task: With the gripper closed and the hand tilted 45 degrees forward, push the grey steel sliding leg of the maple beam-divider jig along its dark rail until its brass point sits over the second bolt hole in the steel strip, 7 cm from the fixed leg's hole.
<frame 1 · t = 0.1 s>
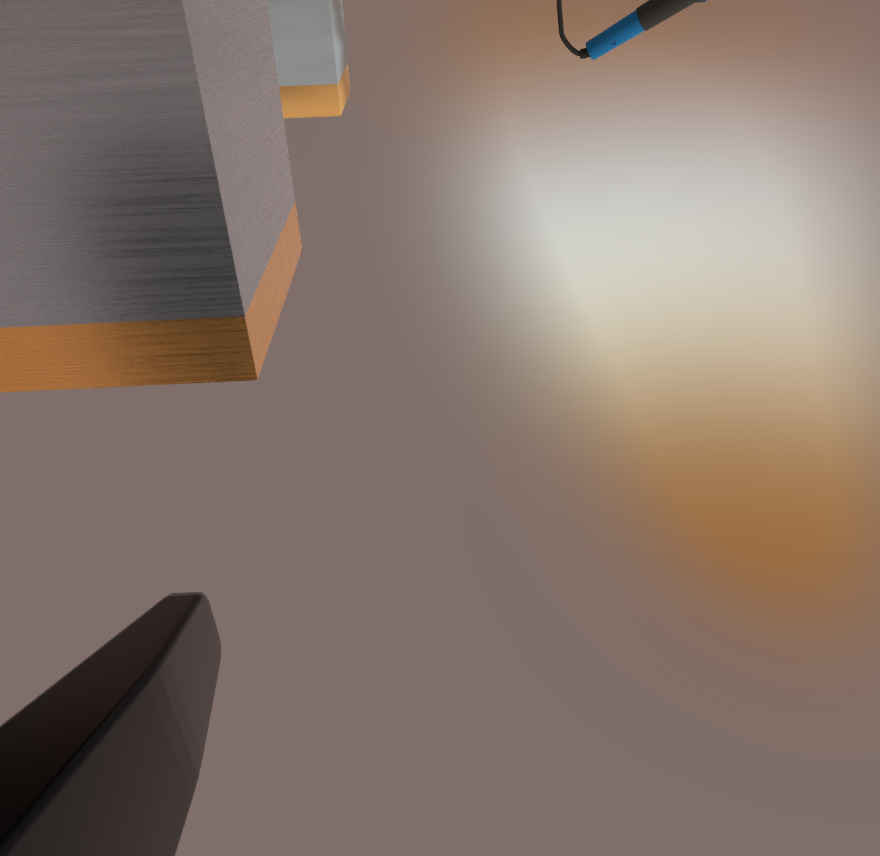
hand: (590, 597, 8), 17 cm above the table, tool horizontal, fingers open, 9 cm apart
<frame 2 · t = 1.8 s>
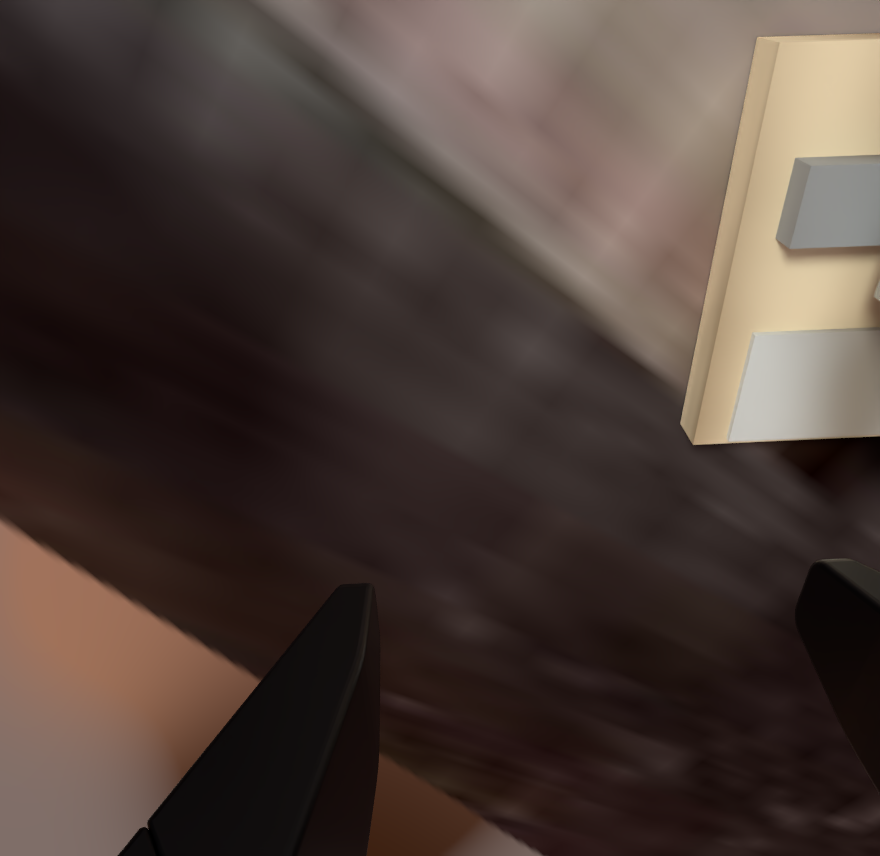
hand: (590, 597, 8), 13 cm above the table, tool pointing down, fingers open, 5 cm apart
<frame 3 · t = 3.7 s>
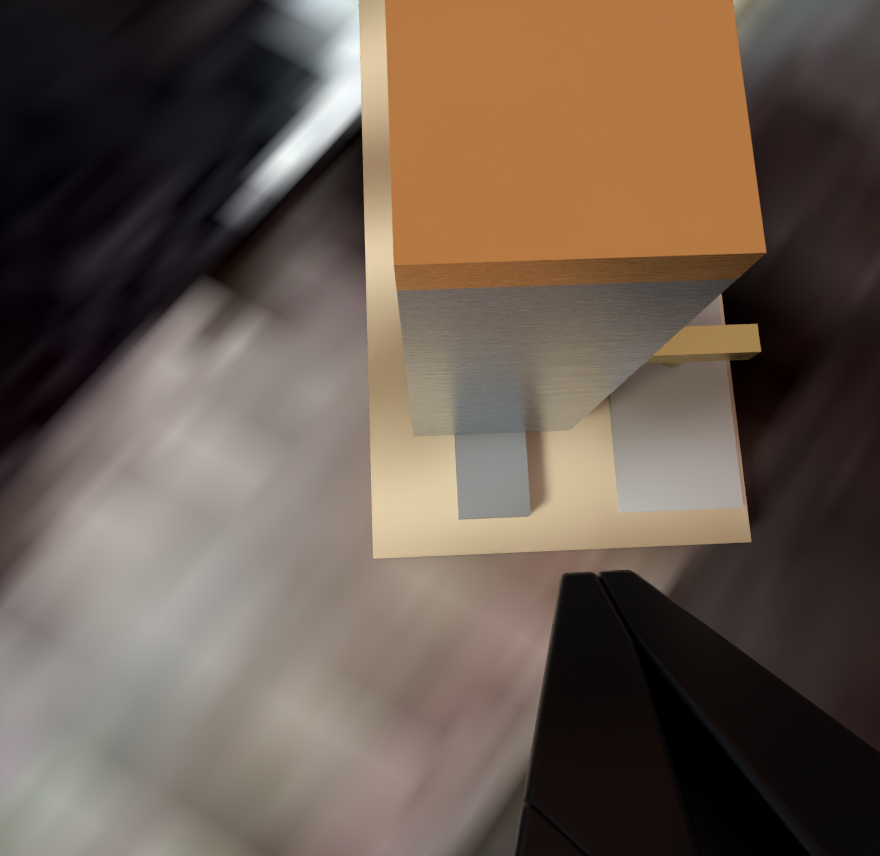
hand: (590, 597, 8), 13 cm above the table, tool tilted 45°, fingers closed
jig: (531, 202, 24), on the table
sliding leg: (633, 278, 15), point 8 cm above the table, slide at 0.0 cm
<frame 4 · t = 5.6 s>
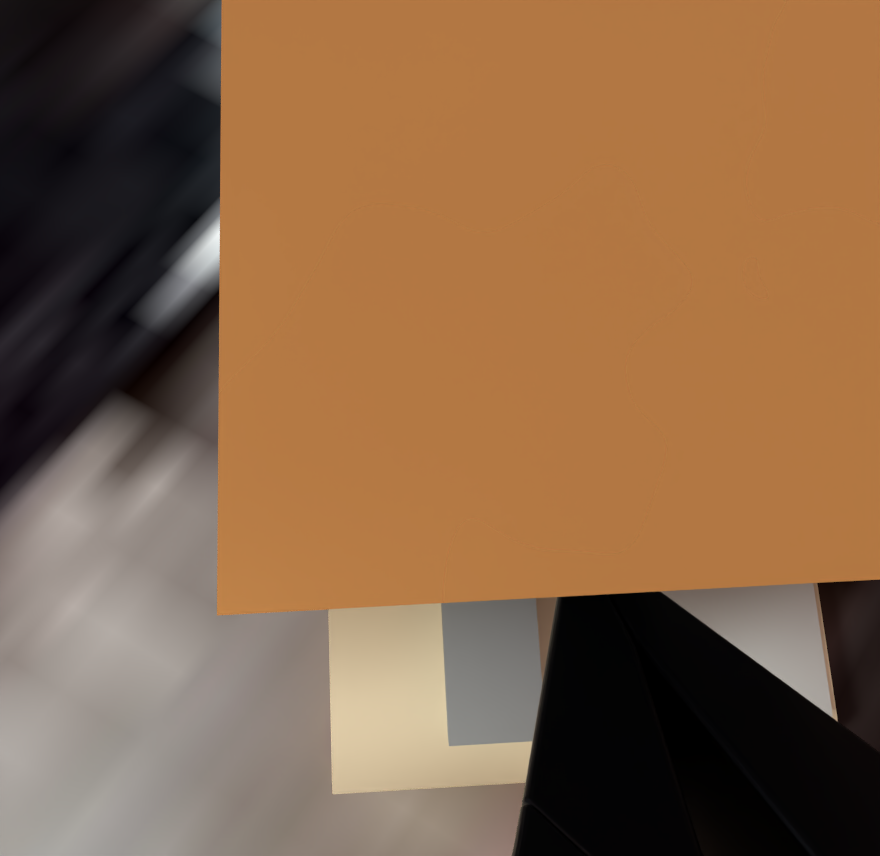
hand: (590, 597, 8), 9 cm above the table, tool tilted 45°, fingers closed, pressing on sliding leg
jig: (539, 291, 19), on the table
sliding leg: (700, 401, 10), point 8 cm above the table, slide at 1.2 cm, touching gripper
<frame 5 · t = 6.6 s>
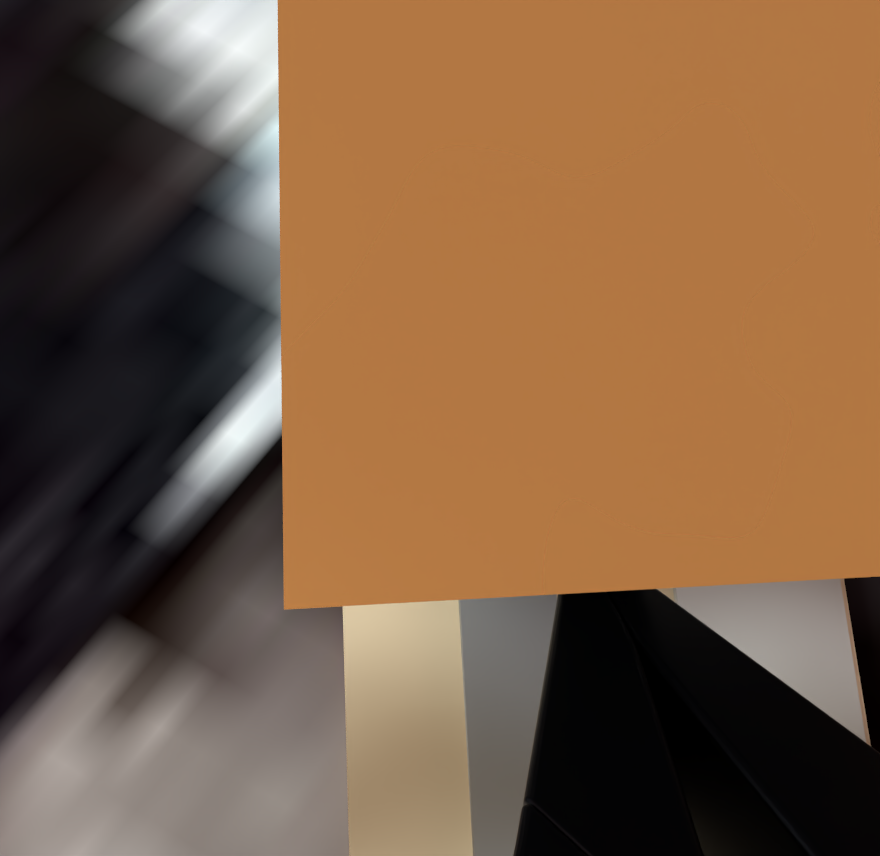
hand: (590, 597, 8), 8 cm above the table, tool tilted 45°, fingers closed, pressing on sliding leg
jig: (575, 498, 17), on the table
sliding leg: (740, 392, 9), point 8 cm above the table, slide at 6.6 cm, touching gripper
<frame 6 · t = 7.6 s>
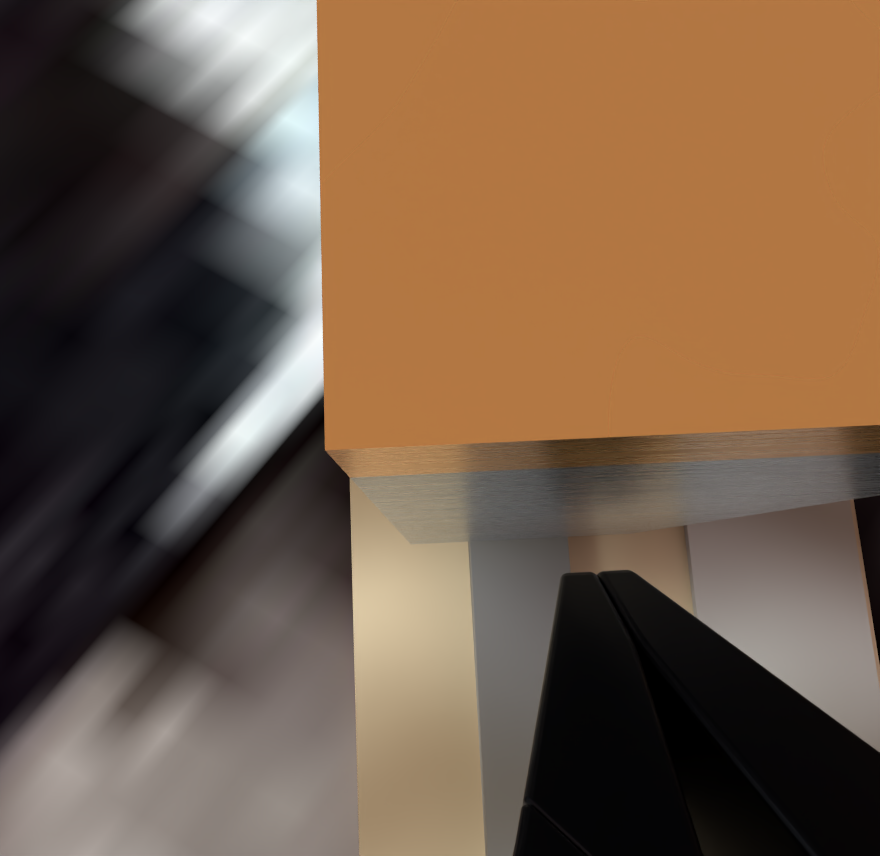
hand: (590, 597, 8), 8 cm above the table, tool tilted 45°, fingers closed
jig: (590, 500, 17), on the table
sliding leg: (766, 340, 9), point 8 cm above the table, slide at 7.3 cm
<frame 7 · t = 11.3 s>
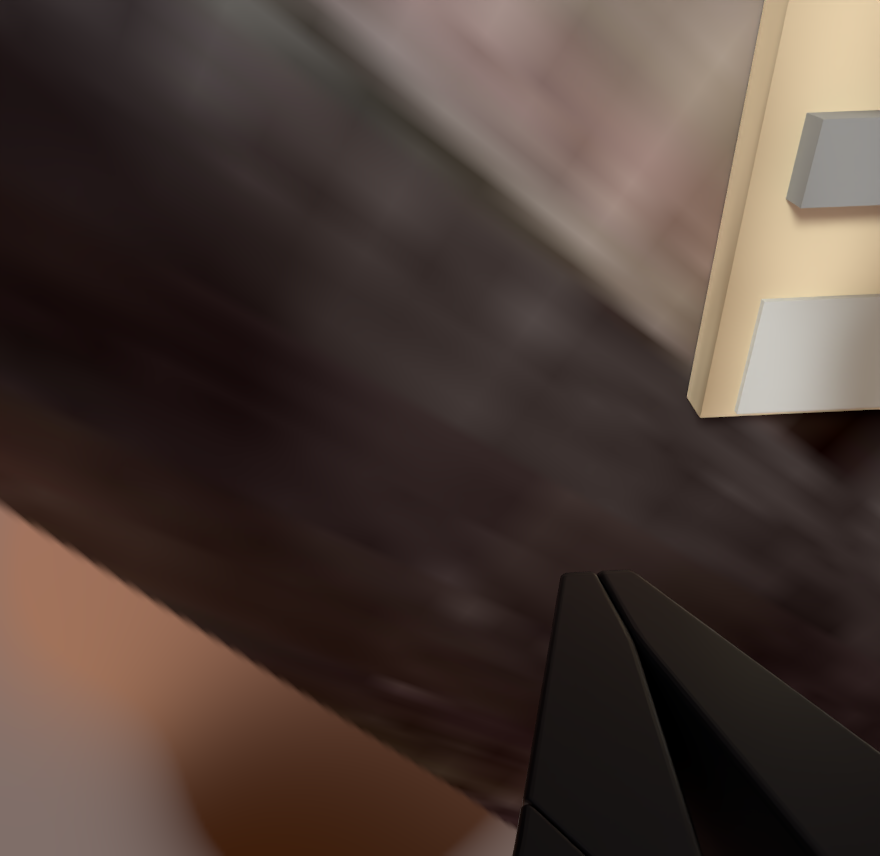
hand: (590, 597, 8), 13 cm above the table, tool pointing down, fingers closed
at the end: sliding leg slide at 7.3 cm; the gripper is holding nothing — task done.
